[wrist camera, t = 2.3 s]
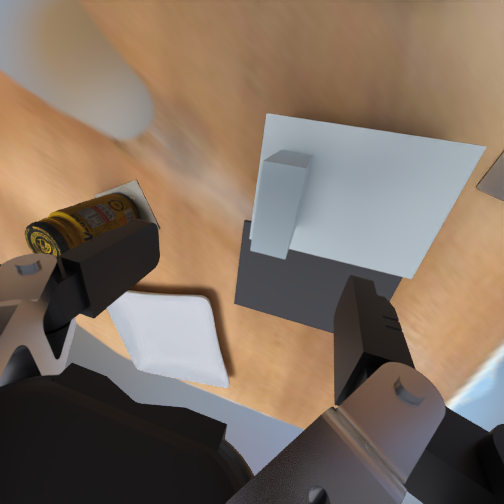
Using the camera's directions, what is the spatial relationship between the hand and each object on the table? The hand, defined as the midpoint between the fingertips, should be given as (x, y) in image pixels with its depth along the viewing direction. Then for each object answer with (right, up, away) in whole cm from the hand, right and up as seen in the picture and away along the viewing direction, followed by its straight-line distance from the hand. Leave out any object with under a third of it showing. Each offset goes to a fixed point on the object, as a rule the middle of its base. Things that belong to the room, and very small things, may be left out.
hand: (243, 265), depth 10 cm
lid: (+8, +6, +12) cm, 15 cm away
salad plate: (-14, -14, +37) cm, 42 cm away
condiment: (-18, +7, +27) cm, 33 cm away
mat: (+8, -4, +23) cm, 25 cm away
